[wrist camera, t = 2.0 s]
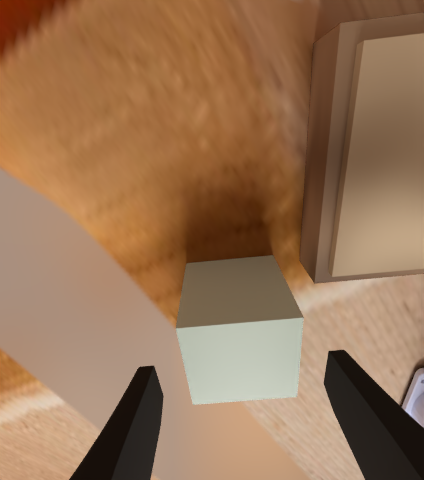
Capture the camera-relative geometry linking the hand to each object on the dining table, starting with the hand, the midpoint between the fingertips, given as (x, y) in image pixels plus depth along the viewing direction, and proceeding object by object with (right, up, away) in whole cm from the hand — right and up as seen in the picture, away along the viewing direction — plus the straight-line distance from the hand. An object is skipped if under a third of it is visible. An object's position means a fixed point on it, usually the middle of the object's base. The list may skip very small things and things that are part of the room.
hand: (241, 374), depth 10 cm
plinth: (+7, +9, +1) cm, 12 cm away
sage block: (0, +2, +5) cm, 5 cm away
